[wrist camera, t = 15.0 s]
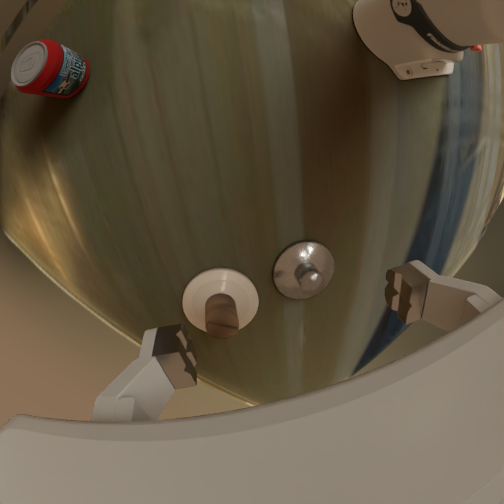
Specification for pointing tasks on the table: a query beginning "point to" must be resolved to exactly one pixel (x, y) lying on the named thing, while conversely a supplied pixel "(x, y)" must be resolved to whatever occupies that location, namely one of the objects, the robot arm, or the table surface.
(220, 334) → the cap
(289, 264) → the pedestal
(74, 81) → the beverage can
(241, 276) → the saucer
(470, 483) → the robot arm
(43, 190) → the table surface
